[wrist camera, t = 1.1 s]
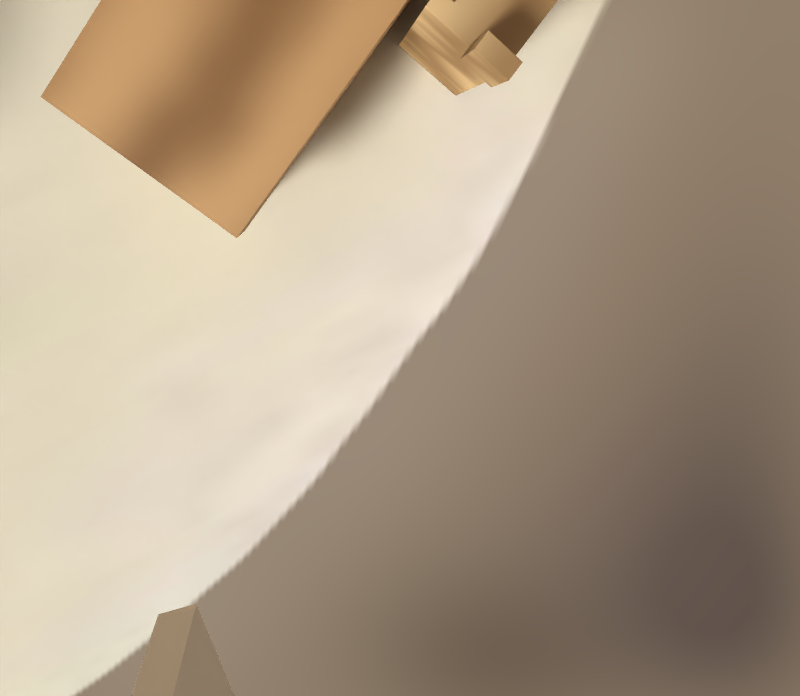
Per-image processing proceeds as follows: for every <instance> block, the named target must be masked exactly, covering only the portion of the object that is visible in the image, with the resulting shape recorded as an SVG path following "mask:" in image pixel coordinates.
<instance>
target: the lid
mask: <svg viewBox="0 0 800 696" xmlns="http://www.w3.org/2000/svg"><path fill="white" fill-rule="evenodd" d="M409 1H410V0H101V1H100V3H99V5H98V6H97V8H96V9H95V11H94V13H93V14H92V16H91V17H90V19H89V21H88V22H87V24H86V25H85V27H84V29H83V30H82V32H81V33H80V35H79V37H78V38H77V40H76V41H75V43H74V45H73V46H72V48H71V49H70V51H69V52H68V54H67V56H66V57H65V59H64V60H63V62H62V64H61V65H60V67H59V68H58V70H57V72H56V73H55V75H54V76H53V78H52V80H51V81H50V83H49V84H48V86H47V88H46V89H45V91H44V92H43V94H42V96H41V97H42V98H43V99H45V100H46V101H47V102H49V103H50V104H52V105H53V106H54V107H56V108H57V109H58V110H60V111H61V112H63V113H64V114H65V115H67V116H68V117H70V118H71V119H72V120H74V121H75V122H76V123H78V124H79V125H81V126H82V127H83V128H85V129H86V130H88V131H89V132H90V133H92V134H93V135H95V136H96V137H97V138H99V139H100V140H101V141H103V142H104V143H106V144H107V145H108V146H110V147H111V148H113V149H114V150H115V151H117V152H118V153H119V154H121V155H122V156H124V157H125V158H126V159H128V160H129V161H131V162H132V163H133V164H135V165H136V166H138V167H139V168H140V169H142V170H143V171H144V172H146V173H147V174H149V175H150V176H151V177H153V178H154V179H156V180H157V181H158V182H160V183H161V184H163V185H164V186H165V187H167V188H168V189H169V190H171V191H172V192H174V193H175V194H176V195H178V196H179V197H181V198H182V199H183V200H185V201H186V202H187V203H189V204H190V205H192V206H193V207H194V208H196V209H197V210H199V211H200V212H201V213H203V214H204V215H206V216H207V217H208V218H210V219H211V220H212V221H214V222H215V223H217V224H218V225H219V226H221V227H222V228H224V229H225V230H226V231H228V232H229V233H230V234H232V235H233V236H235V237H236V238H237V237H239V236H240V235H241V234H242V233H243V232H244V231H245V230H246V228H247V227H248V225H249V224H250V223H251V221H252V220H253V219H254V217H255V216H256V214H257V213H258V212H259V210H260V209H261V207H262V206H263V205H264V203H265V202H266V200H267V199H268V198H269V196H270V195H271V193H272V192H273V191H274V189H275V188H276V186H277V185H278V184H279V182H280V181H281V179H282V178H283V177H284V175H285V174H286V173H287V171H288V170H289V168H290V167H291V166H292V164H293V163H294V161H295V160H296V159H297V157H298V156H299V154H300V153H301V152H302V150H303V149H304V147H305V146H306V145H307V143H308V142H309V140H310V139H311V138H312V136H313V135H314V133H315V132H316V131H317V129H318V128H319V126H320V125H321V124H322V122H323V121H324V120H325V118H326V117H327V115H328V114H329V113H330V111H331V110H332V108H333V107H334V106H335V104H336V103H337V101H338V100H339V99H340V97H341V96H342V94H343V93H344V92H345V90H346V89H347V87H348V86H349V85H350V83H351V82H352V80H353V79H354V78H355V76H356V75H357V74H358V72H359V71H360V69H361V68H362V67H363V65H364V64H365V62H366V61H367V60H368V58H369V57H370V55H371V54H372V53H373V51H374V50H375V48H376V47H377V46H378V44H379V43H380V41H381V40H382V39H383V37H384V36H385V34H386V33H387V32H388V30H389V29H390V27H391V26H392V25H393V23H394V22H395V21H396V19H397V18H398V16H399V15H400V14H401V12H402V11H403V9H404V8H405V7H406V5H407V4H408V2H409Z"/></svg>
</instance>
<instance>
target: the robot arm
mask: <svg viewBox="0 0 800 696" xmlns="http://www.w3.org/2000/svg"><path fill="white" fill-rule="evenodd" d="M131 696H234V693H233V691H232V689H231V686H230V684H229V681H228V679H227V677H226V674H225V672H224V669H223V667H222V664H221V662H220V660H219V657H218V655H217V652H216V650H215V647H214V645H213V643H212V640H211V638H210V635H209V633H208V630H207V628H206V626H205V623H204V621H203V618H202V616H201V614H200V611H199V609H198V606H197V604H194V605H190V606H187V607H183V608H180V609H176V610H173V611H169V612H166V613H162V614H158V617H157V620H156V623H155V626H154V629H153V632H152V635H151V638H150V641H149V644H148V647H147V650H146V653H145V657H144V659H143V662H142V665H141V668H140V671H139V674H138V677H137V680H136V683H135V686H134V689H133V693H132V695H131Z"/></svg>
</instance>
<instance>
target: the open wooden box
mask: <svg viewBox="0 0 800 696" xmlns="http://www.w3.org/2000/svg"><path fill="white" fill-rule="evenodd" d="M556 2H557V0H456V1H455V2H453V1H452V0H430V1H429V2H428V3H427V5H426V6H425V8H424V9H423V11H422V12H421V13H420V15H419V16H418V18H417V19H416V21H415V22H414V24H413V25H412V27H411V28H410V30H409V31H408V33H407V34H406V35H405V37H404V38H403V40H402V41H401V43H400V44H399V46H400V47H401V48H403V49H404V50H405V51H406V52H407V53H408V54H409V55H410V56H412V57H413V58H414V59H415V60H416V61H417V62H418V63H420V64H421V65H422V66H423V67H424V68H425V69H426V70H427V71H429V72H430V73H431V74H432V75H433V76H434V77H435V78H436V79H438V80H439V81H440V82H441V83H442V84H443V85H444V86H446V87H447V88H448V89H449V90H450V91H451V92H452V93H453V94H455V95H458V94H460V93H462V92H465V91H467V90H469V89H471V88H473V87H476V86H478V85H480V84H482V83H484V82H486V83H487V84H488V85H489V86H490V87H493V86H496V85H498V84H501V83H503V82H506V81H508V80H509V79H510V78H511V77H512V75H513V74H514V73H515V72H516V70H517V69H518V68H519V66H520V65H521V64H522V61H521V60H520V59H519V58H518V57H517V56H516V54H517V53H518V52H519V50H520V49H521V48H522V46H523V45H524V44H525V42H526V41H527V40H528V39H529V37H530V36H531V35H532V33H533V32H534V31H535V29H536V28H537V27H538V25H539V24H540V23H541V21H542V20H543V19H544V17H545V16H546V15H547V14H548V12H549V11H550V10H551V8H552V7H553V6H554V4H555V3H556Z"/></svg>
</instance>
